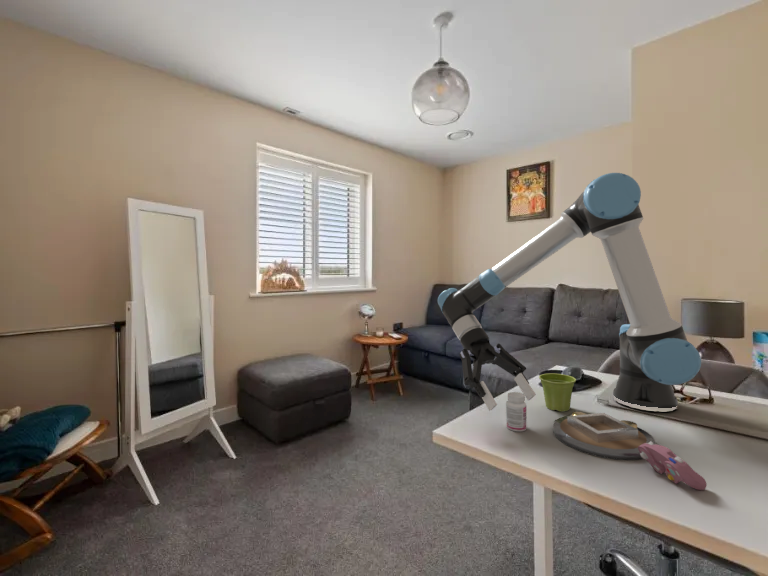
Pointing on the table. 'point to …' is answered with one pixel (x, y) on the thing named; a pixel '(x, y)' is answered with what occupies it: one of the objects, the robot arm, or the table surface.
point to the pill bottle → (516, 412)
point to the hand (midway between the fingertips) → (513, 402)
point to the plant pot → (557, 390)
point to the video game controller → (671, 465)
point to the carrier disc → (601, 435)
